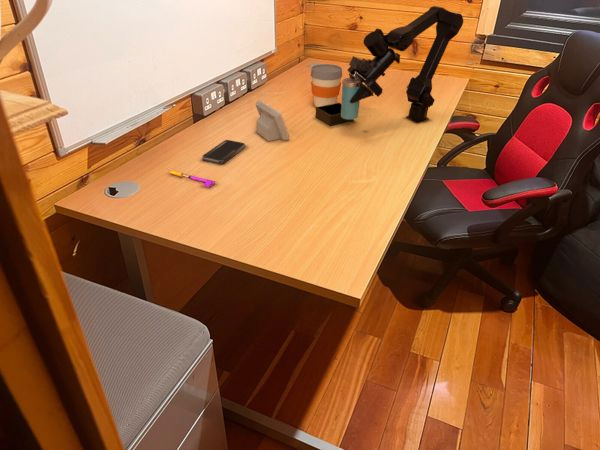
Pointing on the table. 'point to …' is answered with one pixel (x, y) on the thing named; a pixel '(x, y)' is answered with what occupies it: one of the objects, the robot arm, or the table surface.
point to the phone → (223, 151)
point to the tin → (349, 98)
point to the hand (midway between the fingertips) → (346, 99)
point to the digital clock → (270, 123)
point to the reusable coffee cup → (325, 84)
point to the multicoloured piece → (207, 181)
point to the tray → (331, 114)
